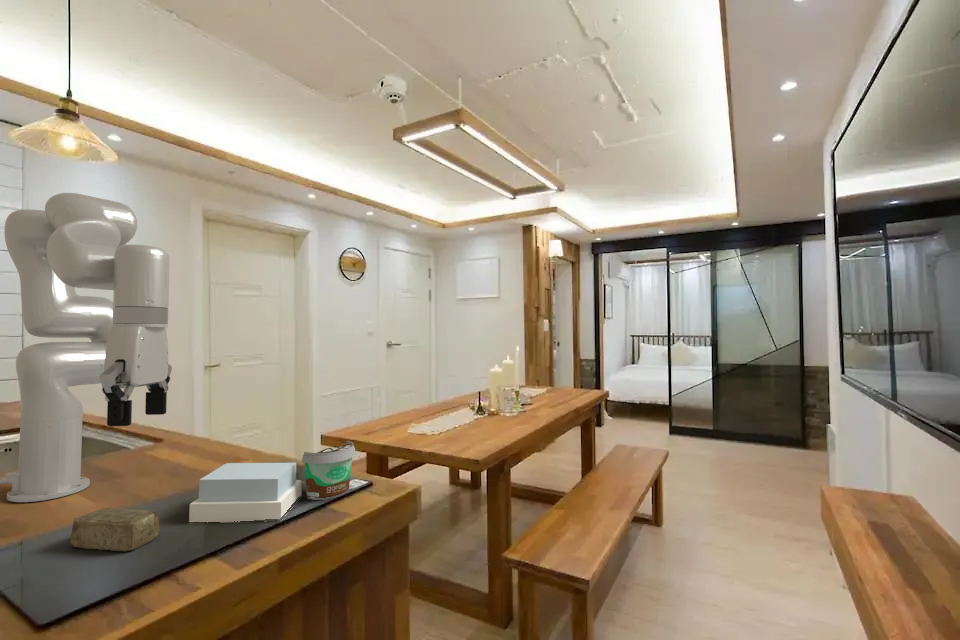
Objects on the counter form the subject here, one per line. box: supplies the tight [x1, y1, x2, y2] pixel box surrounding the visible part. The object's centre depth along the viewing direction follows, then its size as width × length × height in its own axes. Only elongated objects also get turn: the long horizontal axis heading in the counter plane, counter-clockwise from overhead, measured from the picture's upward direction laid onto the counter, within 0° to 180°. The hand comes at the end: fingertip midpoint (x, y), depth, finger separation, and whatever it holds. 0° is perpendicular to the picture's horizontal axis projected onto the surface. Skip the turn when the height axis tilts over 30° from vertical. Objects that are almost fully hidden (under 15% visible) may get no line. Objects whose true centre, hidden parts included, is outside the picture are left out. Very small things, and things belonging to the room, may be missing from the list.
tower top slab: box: [198, 462, 297, 502], centre depth 87 cm, size 14×10×4 cm
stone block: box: [69, 507, 160, 552], centre depth 72 cm, size 6×12×5 cm, turn 84°
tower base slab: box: [188, 479, 303, 524], centre depth 87 cm, size 16×12×4 cm
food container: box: [301, 440, 356, 498], centre depth 94 cm, size 12×6×10 cm, turn 148°
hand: (138, 419), depth 75 cm, fingers open, 9 cm apart
